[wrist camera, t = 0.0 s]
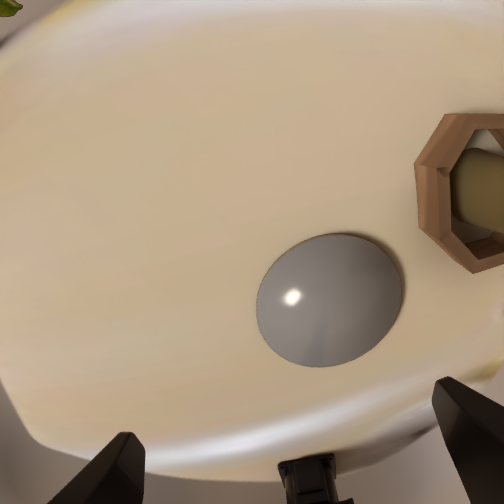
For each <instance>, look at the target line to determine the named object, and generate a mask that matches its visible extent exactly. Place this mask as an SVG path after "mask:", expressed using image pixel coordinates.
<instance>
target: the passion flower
mask: <svg viewBox="0 0 504 504" xmlns="http://www.w3.org/2000/svg"><path fill="white" fill-rule="evenodd" d="M22 7H23V5H21V4H18V3H17V2H16V1H15V0H0V16H1V17H10V16H14V15H15V14H16V13H17V11H18V10H20V9H22Z"/></svg>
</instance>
